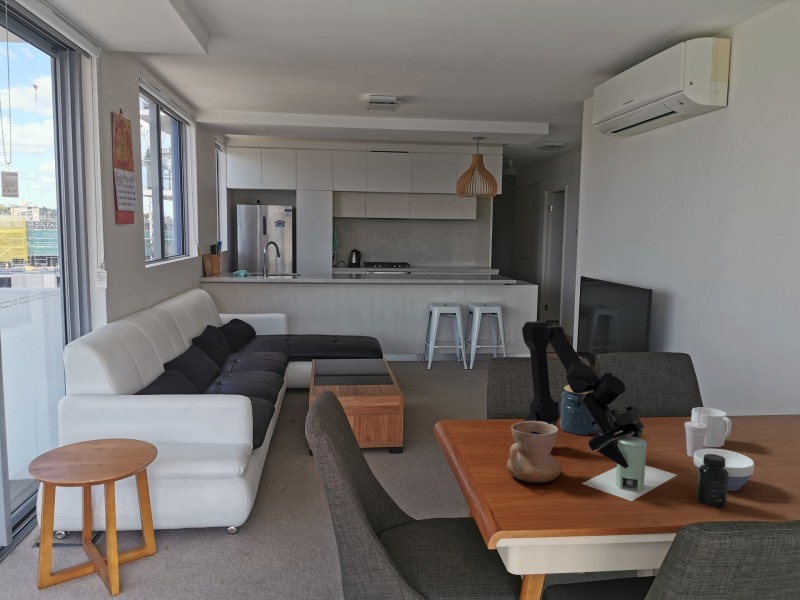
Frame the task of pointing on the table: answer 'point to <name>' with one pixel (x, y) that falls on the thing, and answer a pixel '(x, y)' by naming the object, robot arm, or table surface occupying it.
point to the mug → (713, 425)
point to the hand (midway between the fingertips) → (635, 463)
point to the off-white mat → (608, 485)
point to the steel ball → (629, 482)
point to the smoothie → (695, 435)
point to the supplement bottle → (712, 481)
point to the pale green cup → (632, 461)
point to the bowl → (729, 466)
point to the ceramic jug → (533, 452)
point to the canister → (575, 414)
